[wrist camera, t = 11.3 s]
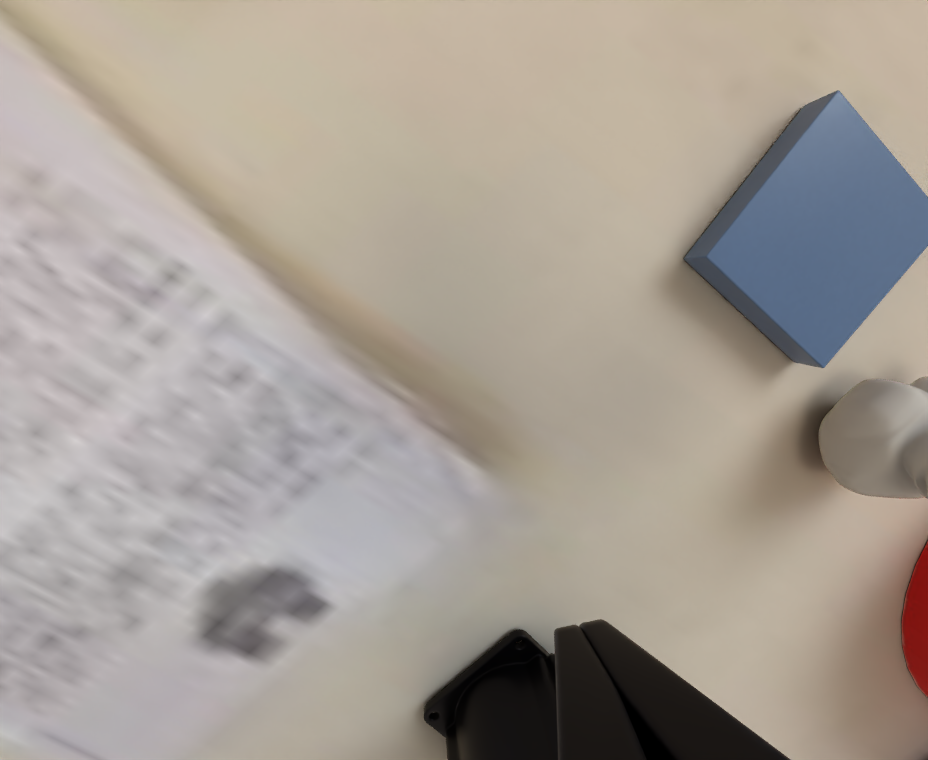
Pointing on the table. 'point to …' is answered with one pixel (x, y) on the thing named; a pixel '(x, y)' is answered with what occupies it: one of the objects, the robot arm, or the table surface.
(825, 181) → the sticky note pad
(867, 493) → the rubber duck
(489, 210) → the table surface
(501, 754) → the robot arm
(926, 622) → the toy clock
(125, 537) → the table surface
